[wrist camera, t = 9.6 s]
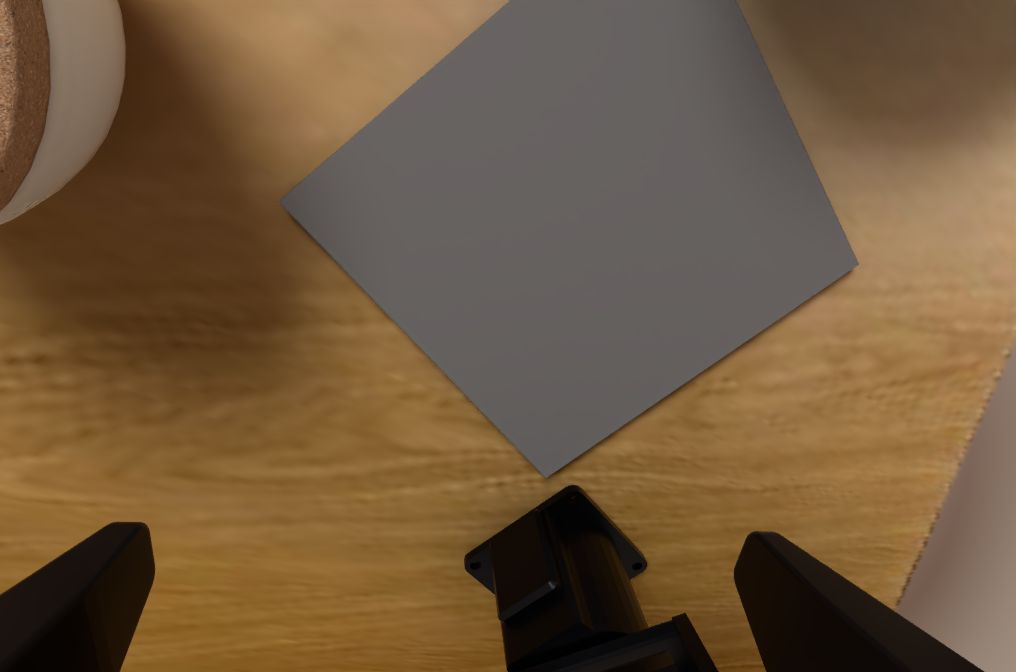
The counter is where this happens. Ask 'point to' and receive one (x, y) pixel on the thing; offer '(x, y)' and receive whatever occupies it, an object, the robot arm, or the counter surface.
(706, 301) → the mat
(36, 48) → the lidded jar
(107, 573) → the robot arm
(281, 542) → the counter surface
